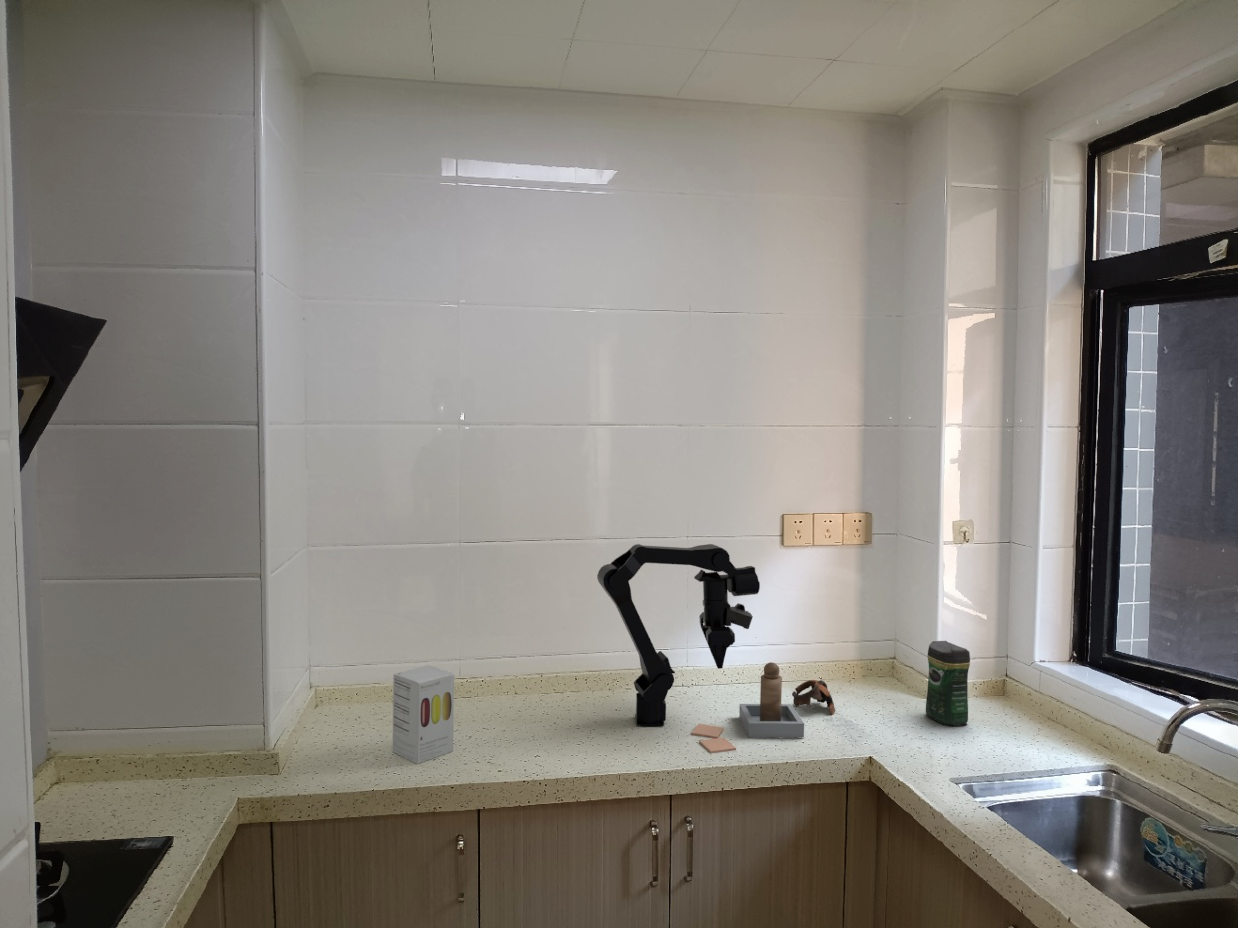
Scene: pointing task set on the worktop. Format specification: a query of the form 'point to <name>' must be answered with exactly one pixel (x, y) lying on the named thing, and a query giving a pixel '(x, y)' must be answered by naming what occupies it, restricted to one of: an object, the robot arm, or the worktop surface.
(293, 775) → the worktop surface
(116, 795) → the worktop surface
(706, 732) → the tile
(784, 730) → the tray
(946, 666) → the coffee jar
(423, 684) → the supplement box
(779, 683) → the pepper mill
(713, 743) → the tile
